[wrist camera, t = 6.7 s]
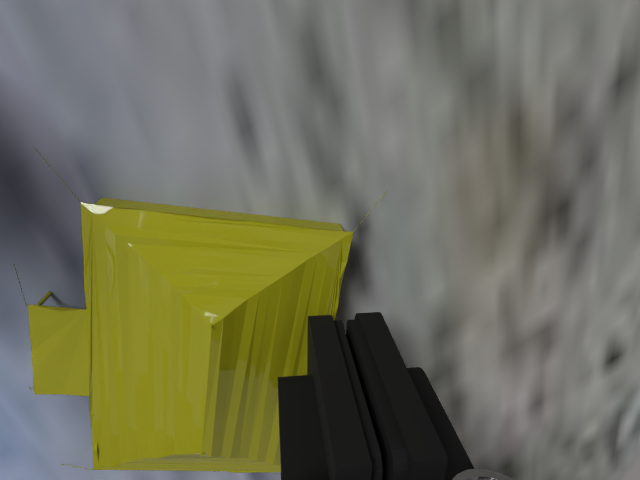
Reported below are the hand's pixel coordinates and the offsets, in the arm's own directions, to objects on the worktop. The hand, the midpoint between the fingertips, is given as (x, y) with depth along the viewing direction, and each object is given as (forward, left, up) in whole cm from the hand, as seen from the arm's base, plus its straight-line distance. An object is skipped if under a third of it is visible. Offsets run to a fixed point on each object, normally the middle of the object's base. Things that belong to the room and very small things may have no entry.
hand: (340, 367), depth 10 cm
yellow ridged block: (0, -3, -2) cm, 4 cm away
